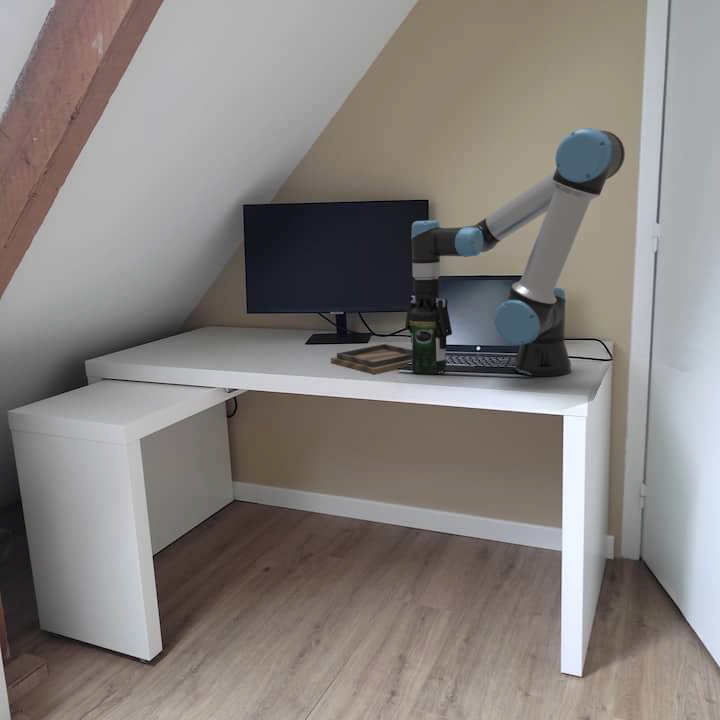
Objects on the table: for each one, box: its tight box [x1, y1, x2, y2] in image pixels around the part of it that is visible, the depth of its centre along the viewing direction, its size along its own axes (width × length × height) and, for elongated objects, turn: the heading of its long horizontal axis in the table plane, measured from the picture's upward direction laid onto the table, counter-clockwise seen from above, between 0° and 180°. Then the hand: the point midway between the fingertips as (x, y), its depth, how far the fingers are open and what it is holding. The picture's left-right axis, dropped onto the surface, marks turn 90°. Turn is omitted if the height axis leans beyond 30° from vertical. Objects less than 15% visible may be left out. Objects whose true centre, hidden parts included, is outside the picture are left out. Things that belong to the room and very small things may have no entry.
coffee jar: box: [410, 307, 447, 375], centre depth 204 cm, size 10×8×19 cm
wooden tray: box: [330, 343, 412, 375], centre depth 221 cm, size 22×21×3 cm
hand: (428, 357), depth 205 cm, fingers closed on coffee jar, 9 cm apart
